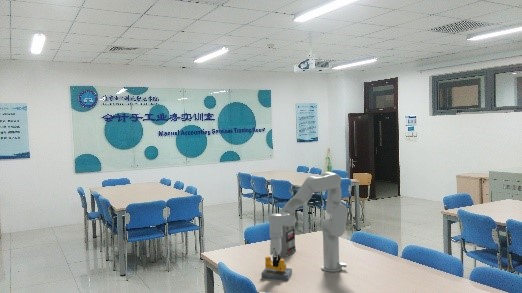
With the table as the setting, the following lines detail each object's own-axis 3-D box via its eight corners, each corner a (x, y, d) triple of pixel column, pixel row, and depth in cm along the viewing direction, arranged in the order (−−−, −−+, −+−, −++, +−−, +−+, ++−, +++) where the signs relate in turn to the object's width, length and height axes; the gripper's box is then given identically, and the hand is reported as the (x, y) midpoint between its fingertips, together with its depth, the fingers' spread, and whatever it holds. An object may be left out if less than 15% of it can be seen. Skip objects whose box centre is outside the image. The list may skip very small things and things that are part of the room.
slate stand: (292, 273, 244) (292, 268, 244) (288, 280, 234) (288, 275, 234) (266, 271, 249) (266, 266, 249) (261, 278, 239) (261, 273, 238)
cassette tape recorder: (287, 256, 276) (286, 220, 275) (279, 255, 279) (278, 219, 278) (296, 251, 288) (295, 216, 287) (288, 250, 291) (287, 215, 290)
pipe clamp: (286, 269, 240) (286, 258, 240) (282, 271, 237) (282, 260, 237) (269, 265, 247) (269, 255, 247) (265, 267, 244) (265, 257, 243)
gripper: (273, 230, 250) (274, 260, 250) (266, 238, 233) (266, 269, 234) (285, 231, 247) (286, 260, 248) (278, 239, 231) (279, 270, 232)
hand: (276, 264), depth 241 cm, fingers closed on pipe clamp, 4 cm apart
